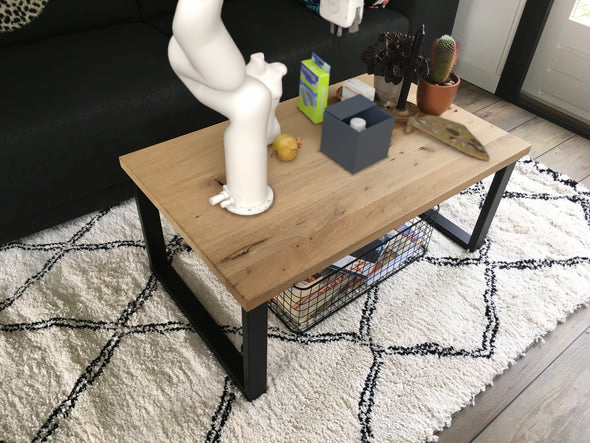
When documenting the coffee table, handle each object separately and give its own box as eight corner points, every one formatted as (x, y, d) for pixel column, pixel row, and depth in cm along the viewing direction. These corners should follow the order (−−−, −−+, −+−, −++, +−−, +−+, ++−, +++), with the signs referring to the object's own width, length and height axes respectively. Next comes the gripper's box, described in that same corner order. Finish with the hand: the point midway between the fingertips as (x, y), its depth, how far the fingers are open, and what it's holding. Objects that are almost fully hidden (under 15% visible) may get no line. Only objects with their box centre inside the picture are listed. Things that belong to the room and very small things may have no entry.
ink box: (370, 124, 148) (376, 88, 140) (358, 129, 146) (363, 93, 138) (350, 112, 153) (354, 76, 145) (338, 117, 151) (342, 81, 142)
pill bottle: (347, 159, 134) (351, 128, 127) (340, 148, 138) (344, 117, 131) (366, 157, 135) (371, 126, 129) (359, 145, 139) (364, 115, 132)
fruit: (278, 153, 126) (310, 140, 130) (264, 134, 129) (295, 123, 133) (274, 170, 132) (305, 158, 136) (261, 152, 134) (291, 140, 139)
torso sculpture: (240, 159, 133) (236, 71, 116) (222, 141, 139) (216, 55, 122) (296, 139, 141) (300, 54, 124) (276, 123, 147) (278, 40, 130)
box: (297, 108, 154) (300, 54, 142) (309, 105, 155) (312, 51, 143) (314, 125, 147) (319, 69, 135) (326, 121, 148) (332, 66, 137)
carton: (353, 174, 130) (359, 133, 122) (320, 150, 137) (323, 110, 129) (387, 156, 137) (395, 116, 128) (353, 135, 144) (359, 96, 135)
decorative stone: (401, 132, 145) (407, 117, 142) (423, 118, 155) (430, 104, 152) (478, 175, 136) (487, 159, 133) (497, 157, 146) (505, 142, 143)
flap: (340, 120, 125) (341, 119, 125) (324, 109, 129) (324, 108, 128) (376, 104, 131) (377, 103, 131) (359, 94, 135) (359, 93, 135)
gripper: (310, -38, 112) (306, 42, 124) (357, -19, 104) (348, 65, 116) (335, -43, 115) (328, 35, 128) (382, -25, 107) (370, 57, 120)
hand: (337, 49), depth 122 cm, fingers closed
